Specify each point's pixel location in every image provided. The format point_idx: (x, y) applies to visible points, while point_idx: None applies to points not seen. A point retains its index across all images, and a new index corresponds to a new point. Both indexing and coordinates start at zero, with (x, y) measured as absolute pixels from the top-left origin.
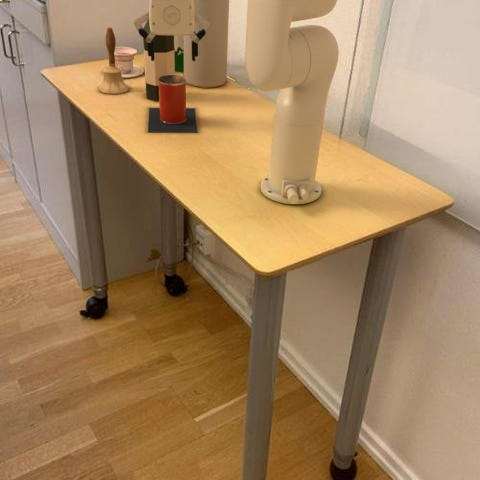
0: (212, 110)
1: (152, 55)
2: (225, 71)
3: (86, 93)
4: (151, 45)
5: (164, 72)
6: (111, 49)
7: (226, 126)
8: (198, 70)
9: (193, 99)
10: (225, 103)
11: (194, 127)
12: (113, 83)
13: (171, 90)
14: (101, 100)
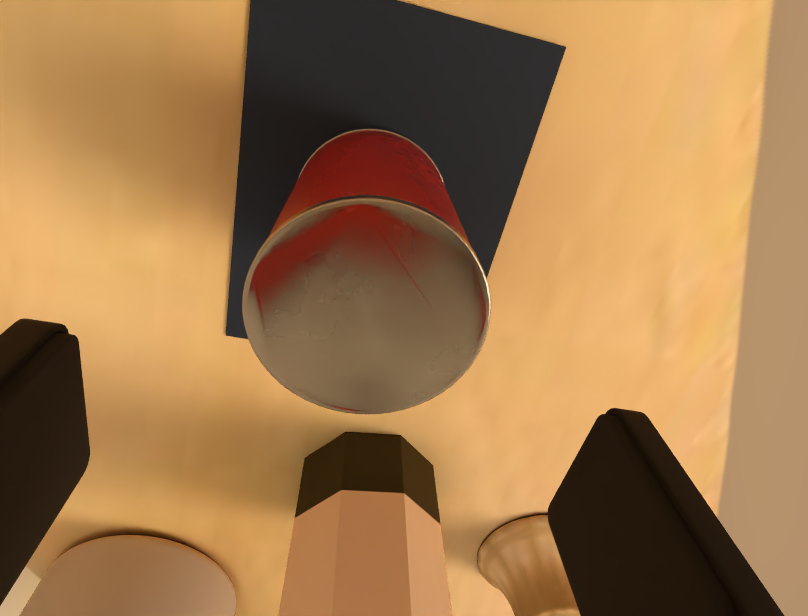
0: (129, 298)
1: (654, 453)
2: (21, 613)
3: None
4: (749, 586)
5: (352, 551)
6: None
7: (41, 34)
8: (154, 613)
9: (220, 435)
10: None
11: (263, 56)
12: (557, 562)
13: (401, 188)
14: None
